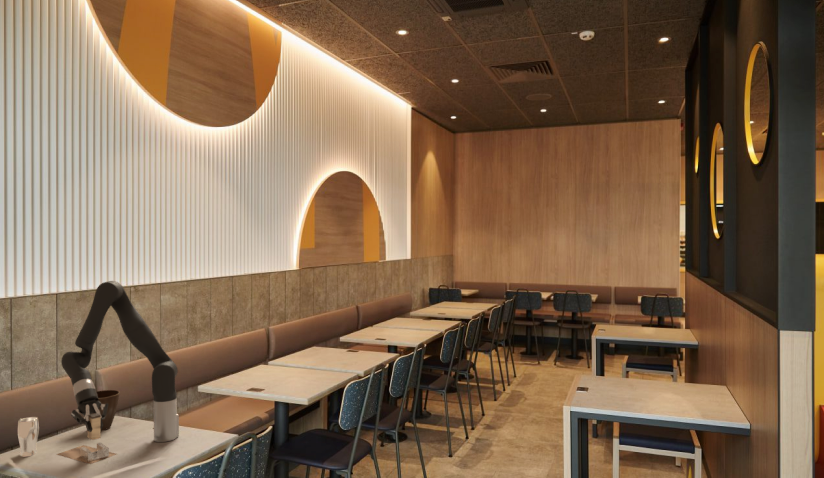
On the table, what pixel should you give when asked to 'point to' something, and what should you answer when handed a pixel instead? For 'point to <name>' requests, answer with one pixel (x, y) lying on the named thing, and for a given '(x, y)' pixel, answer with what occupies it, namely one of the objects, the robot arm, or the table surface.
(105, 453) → the clip
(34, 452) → the beer glass
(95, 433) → the grey-topped wooden block
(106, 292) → the robot arm
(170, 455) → the table surface
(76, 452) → the board
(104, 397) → the plant pot
